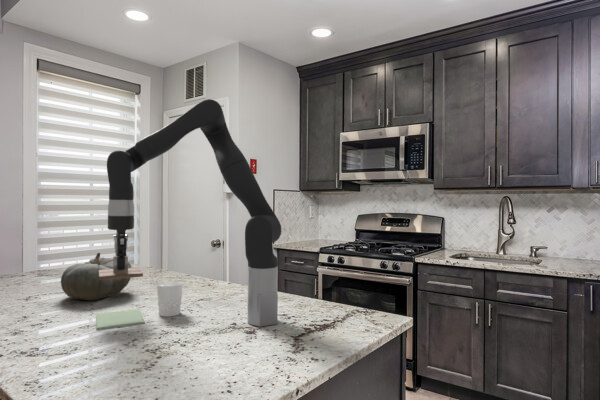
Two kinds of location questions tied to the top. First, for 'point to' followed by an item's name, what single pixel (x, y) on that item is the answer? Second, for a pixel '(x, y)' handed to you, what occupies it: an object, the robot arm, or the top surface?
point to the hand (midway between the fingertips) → (120, 268)
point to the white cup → (169, 298)
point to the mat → (119, 319)
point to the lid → (120, 271)
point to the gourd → (91, 280)
